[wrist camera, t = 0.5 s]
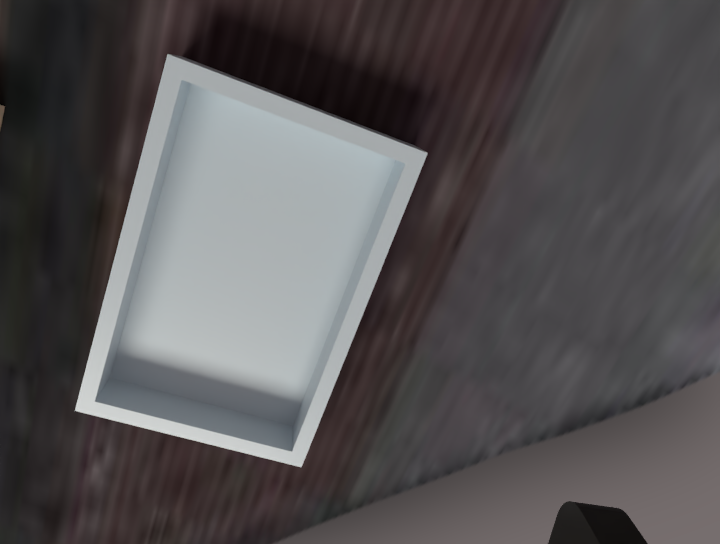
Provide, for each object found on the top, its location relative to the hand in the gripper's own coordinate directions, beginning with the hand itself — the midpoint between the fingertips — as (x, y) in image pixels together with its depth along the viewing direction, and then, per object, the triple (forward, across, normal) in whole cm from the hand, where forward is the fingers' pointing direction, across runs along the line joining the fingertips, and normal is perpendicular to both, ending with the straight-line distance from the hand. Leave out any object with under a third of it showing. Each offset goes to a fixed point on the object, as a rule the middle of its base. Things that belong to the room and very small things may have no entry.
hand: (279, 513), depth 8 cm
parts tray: (+22, +4, +3) cm, 23 cm away
